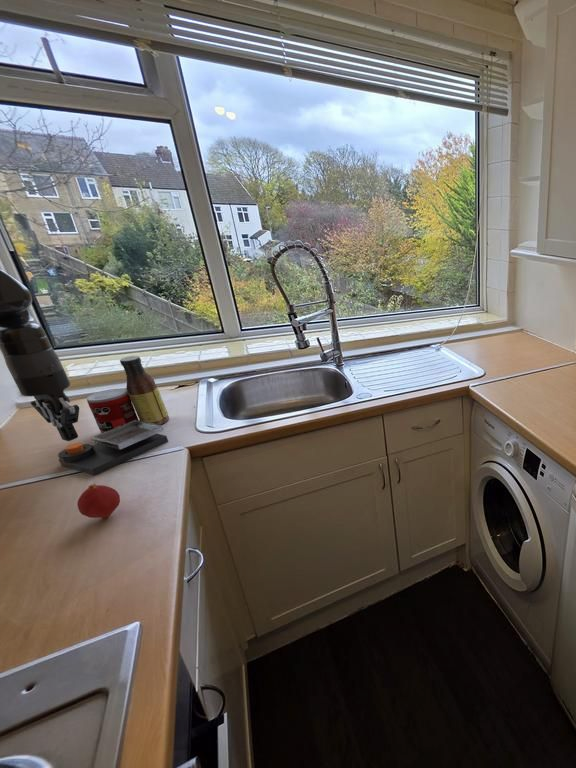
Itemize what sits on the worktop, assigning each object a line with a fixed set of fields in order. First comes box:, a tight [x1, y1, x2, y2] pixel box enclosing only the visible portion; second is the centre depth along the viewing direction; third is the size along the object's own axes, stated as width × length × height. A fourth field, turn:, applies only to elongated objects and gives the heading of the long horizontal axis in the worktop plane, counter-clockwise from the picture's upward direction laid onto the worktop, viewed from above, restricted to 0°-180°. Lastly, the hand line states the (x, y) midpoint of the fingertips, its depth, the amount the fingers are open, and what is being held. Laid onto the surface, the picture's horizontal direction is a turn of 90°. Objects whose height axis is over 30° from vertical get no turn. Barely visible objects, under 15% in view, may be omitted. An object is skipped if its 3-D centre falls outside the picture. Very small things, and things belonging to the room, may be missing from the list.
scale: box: [57, 433, 169, 477], centre depth 100 cm, size 16×12×4 cm
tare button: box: [64, 442, 84, 454], centre depth 96 cm, size 3×3×2 cm
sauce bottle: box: [119, 355, 170, 425], centre depth 112 cm, size 7×6×20 cm
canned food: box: [86, 388, 139, 434], centre depth 109 cm, size 8×8×11 cm
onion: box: [77, 483, 121, 519], centre depth 79 cm, size 6×6×8 cm
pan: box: [89, 419, 165, 450], centre depth 102 cm, size 10×10×1 cm
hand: (71, 439), depth 95 cm, fingers closed
